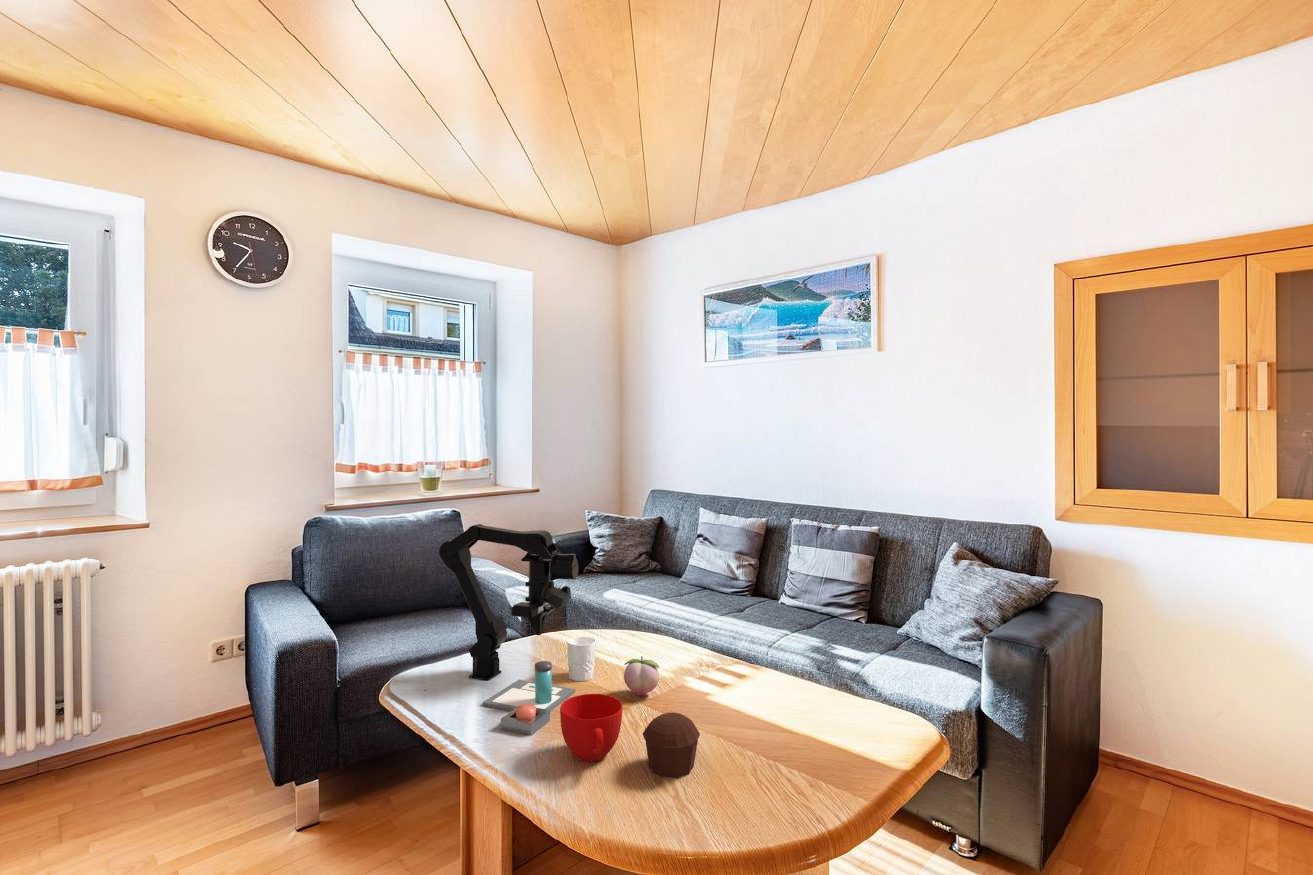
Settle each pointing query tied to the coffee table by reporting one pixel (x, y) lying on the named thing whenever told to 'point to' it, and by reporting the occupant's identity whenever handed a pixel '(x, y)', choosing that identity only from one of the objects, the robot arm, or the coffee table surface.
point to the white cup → (581, 658)
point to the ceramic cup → (591, 725)
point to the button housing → (525, 722)
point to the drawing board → (526, 696)
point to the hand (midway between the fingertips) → (538, 635)
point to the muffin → (671, 745)
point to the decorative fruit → (641, 675)
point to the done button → (526, 712)
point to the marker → (543, 682)
